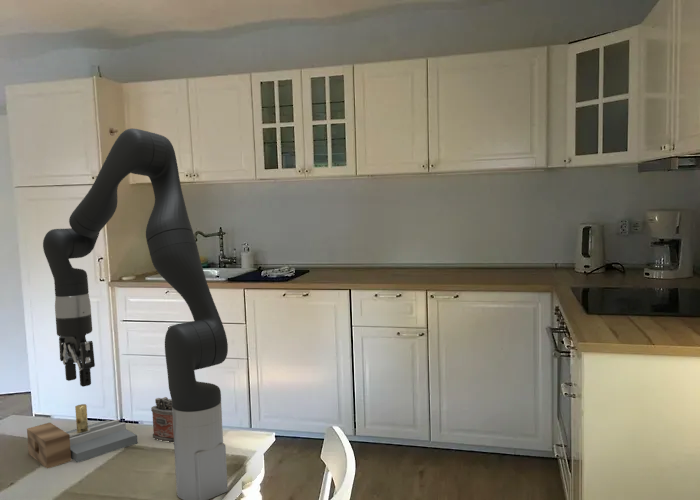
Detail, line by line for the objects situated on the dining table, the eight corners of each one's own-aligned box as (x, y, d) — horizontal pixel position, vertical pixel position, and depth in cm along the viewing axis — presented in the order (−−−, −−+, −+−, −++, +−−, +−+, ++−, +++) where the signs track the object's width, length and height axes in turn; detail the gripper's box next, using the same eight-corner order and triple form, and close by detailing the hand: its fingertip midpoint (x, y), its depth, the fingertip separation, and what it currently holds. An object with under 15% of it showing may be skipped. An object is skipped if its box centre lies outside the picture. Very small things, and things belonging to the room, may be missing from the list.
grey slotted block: (137, 443, 138) (136, 428, 138) (77, 462, 128) (76, 447, 128) (108, 427, 149) (107, 414, 149) (50, 444, 139) (49, 430, 139)
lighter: (149, 438, 141) (147, 398, 140) (160, 433, 144) (157, 394, 143) (174, 443, 137) (171, 402, 136) (184, 438, 140) (182, 398, 139)
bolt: (91, 436, 137) (89, 405, 137) (51, 448, 131) (48, 415, 130) (87, 434, 139) (85, 403, 138) (47, 446, 132) (44, 413, 132)
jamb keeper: (71, 460, 129) (69, 434, 129) (47, 468, 126) (45, 441, 125) (51, 447, 138) (50, 422, 137) (28, 453, 134) (26, 428, 134)
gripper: (102, 314, 133) (107, 384, 133) (77, 309, 142) (82, 374, 143) (68, 319, 127) (73, 392, 128) (45, 314, 137) (50, 381, 138)
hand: (78, 382), depth 136 cm, fingers open, 8 cm apart
